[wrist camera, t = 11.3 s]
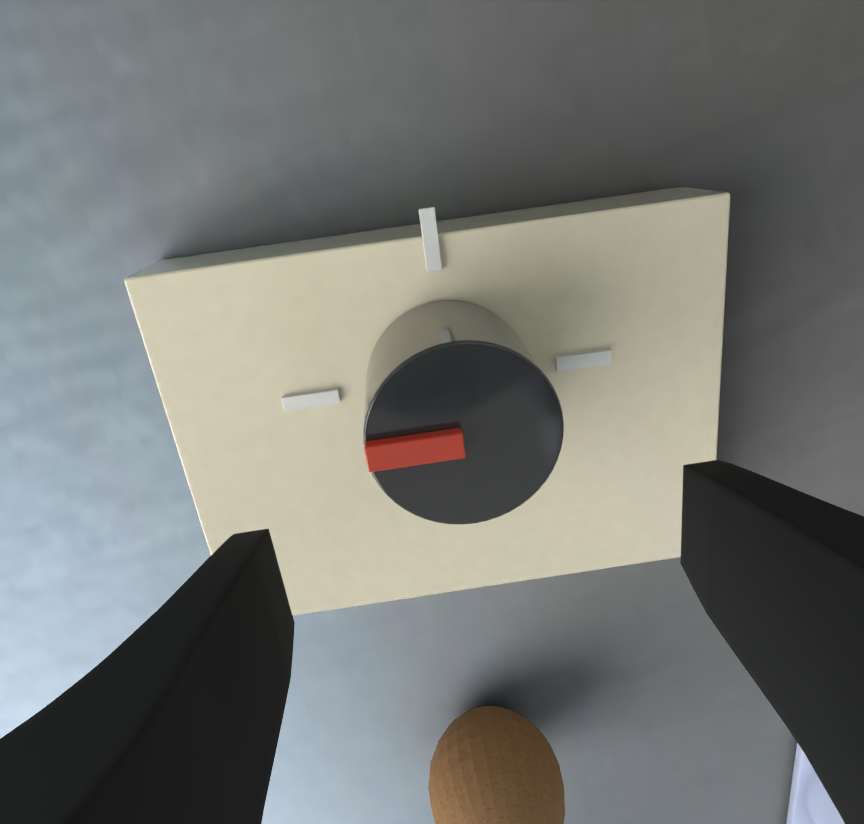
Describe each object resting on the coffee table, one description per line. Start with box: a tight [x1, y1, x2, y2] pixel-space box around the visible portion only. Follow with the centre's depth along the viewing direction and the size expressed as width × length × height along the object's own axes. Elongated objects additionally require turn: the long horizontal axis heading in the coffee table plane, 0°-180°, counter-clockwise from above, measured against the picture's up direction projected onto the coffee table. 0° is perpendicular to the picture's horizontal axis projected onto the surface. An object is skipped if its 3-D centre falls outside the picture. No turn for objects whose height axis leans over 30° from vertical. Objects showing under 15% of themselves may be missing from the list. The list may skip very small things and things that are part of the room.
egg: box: [429, 706, 565, 824], centre depth 21 cm, size 4×4×6 cm
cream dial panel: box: [124, 187, 730, 616], centre depth 17 cm, size 14×11×3 cm
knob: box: [363, 300, 564, 524], centre depth 14 cm, size 4×4×4 cm
